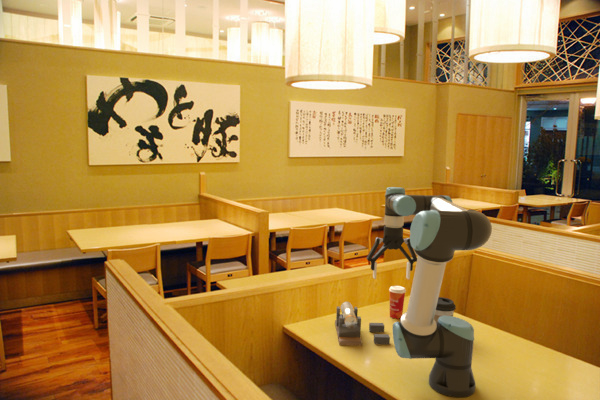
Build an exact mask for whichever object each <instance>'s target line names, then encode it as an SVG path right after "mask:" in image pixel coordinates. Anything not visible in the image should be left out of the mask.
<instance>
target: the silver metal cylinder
mask: <svg viewBox="0 0 600 400" xmlns="http://www.w3.org/2000/svg"><path fill="white" fill-rule="evenodd" d="M353 307H354V306H353V305H352V304H351V302H349V301H344V302H342V303H341V305H340V311H341V314H343V318H344V323H345V325H346V327H347V328H349V329H354V328H355V327H356V326H357V319H356V316H355V313H354V308H353Z"/></svg>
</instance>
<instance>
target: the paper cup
mask: <svg viewBox="0 0 600 400" xmlns="http://www.w3.org/2000/svg"><path fill="white" fill-rule="evenodd" d="M388 291H389V317H390V318H391V317H392V318H391V319H394V318H396V319H395V320H400V319H401V316H402V315H403V314H404V313H403V311H404V305H405V304H404V303H405V295H406V292H407V290H406V287H403V286H401V285H391V286H390V287H389V289H388ZM399 318H400V319H399Z"/></svg>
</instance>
